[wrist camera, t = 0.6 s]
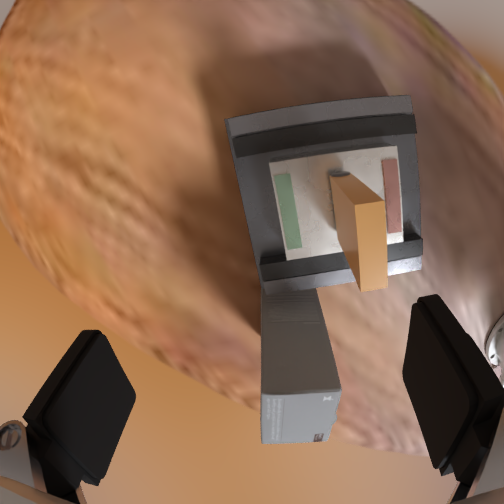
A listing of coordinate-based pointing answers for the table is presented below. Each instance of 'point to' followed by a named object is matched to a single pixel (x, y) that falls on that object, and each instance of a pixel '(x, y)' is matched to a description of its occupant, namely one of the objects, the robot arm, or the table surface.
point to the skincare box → (296, 369)
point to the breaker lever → (361, 230)
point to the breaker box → (324, 185)
